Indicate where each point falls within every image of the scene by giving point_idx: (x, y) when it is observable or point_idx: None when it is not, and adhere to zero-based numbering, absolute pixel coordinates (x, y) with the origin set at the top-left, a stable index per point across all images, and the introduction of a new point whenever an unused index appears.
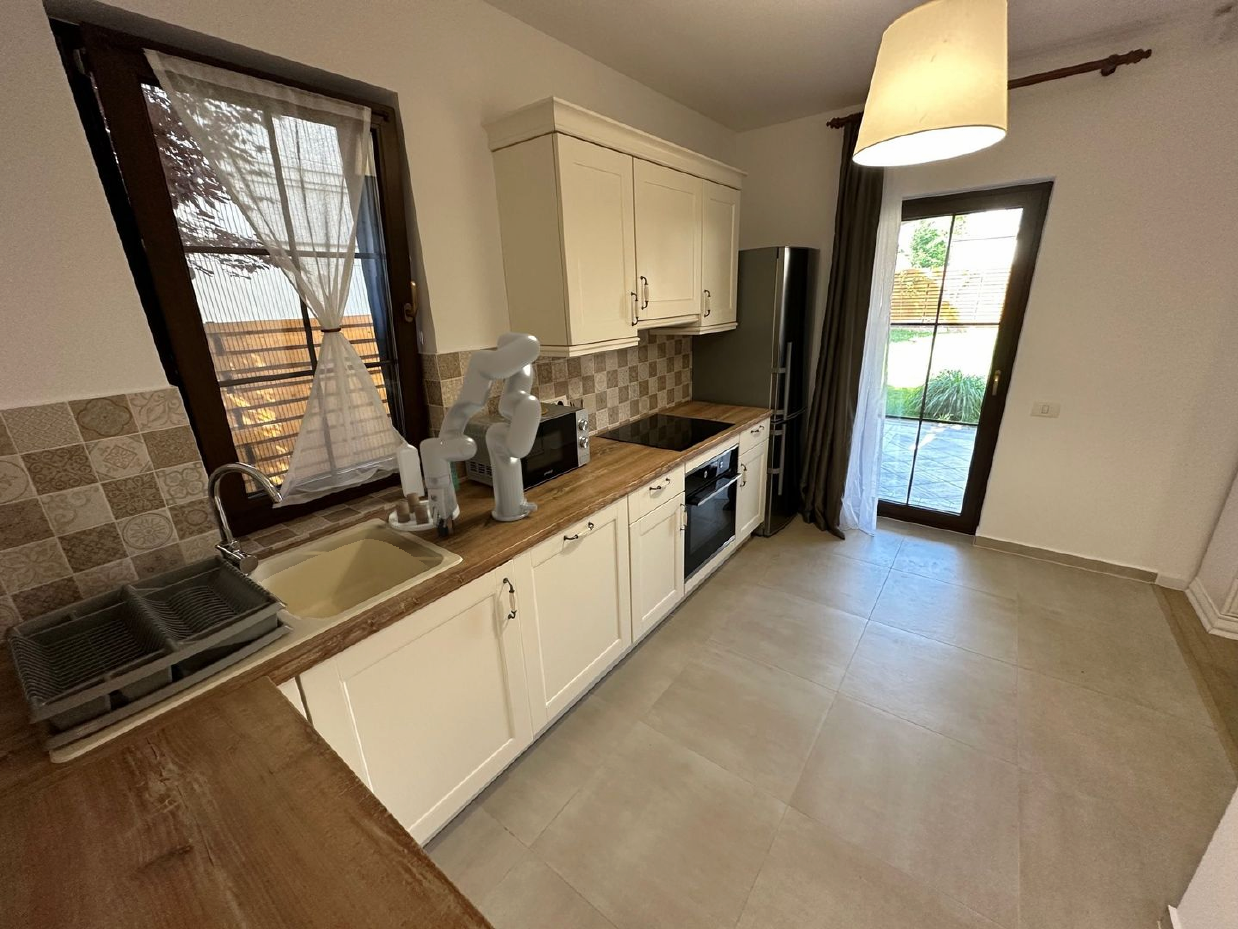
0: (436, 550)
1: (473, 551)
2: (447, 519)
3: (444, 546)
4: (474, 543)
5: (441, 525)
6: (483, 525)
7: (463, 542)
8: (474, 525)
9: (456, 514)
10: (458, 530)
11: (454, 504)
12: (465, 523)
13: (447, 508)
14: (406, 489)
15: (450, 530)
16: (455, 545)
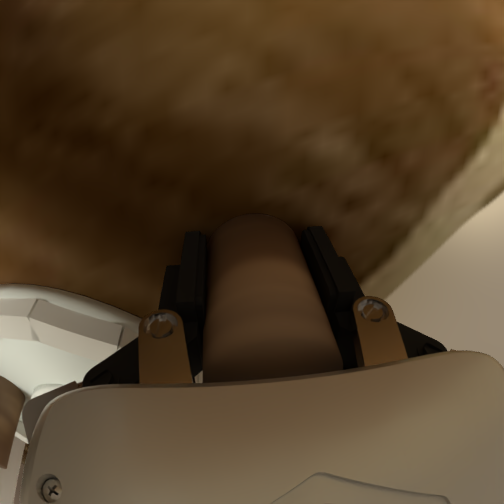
0: (444, 237)
1: (488, 12)
2: (318, 348)
3: (413, 211)
4: (396, 3)
5: (421, 335)
6: (46, 40)
7: (377, 90)
8: (53, 116)
9: (3, 307)
10: (158, 207)
11: (160, 486)
12: (41, 206)
13: (498, 471)
14: (17, 475)
15: (285, 249)
16: (414, 141)
